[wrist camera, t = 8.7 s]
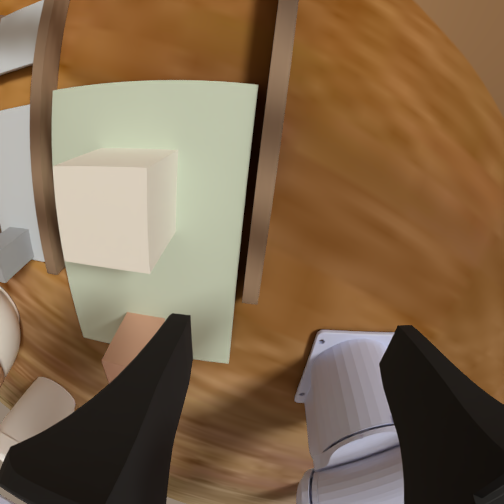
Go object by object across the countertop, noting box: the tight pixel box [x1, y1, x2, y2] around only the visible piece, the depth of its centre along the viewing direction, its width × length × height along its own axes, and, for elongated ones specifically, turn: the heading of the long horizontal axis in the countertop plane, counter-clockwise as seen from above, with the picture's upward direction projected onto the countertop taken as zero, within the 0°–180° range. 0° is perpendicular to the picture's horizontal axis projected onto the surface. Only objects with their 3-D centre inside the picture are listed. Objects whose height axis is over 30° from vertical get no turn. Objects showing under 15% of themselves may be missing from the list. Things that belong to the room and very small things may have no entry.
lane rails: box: [0, 0, 299, 304], centre depth 15 cm, size 21×23×2 cm
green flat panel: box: [52, 80, 259, 383], centre depth 17 cm, size 20×13×6 cm, turn 174°
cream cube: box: [53, 148, 178, 274], centre depth 15 cm, size 5×5×5 cm
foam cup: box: [0, 377, 76, 461], centre depth 24 cm, size 10×9×13 cm
